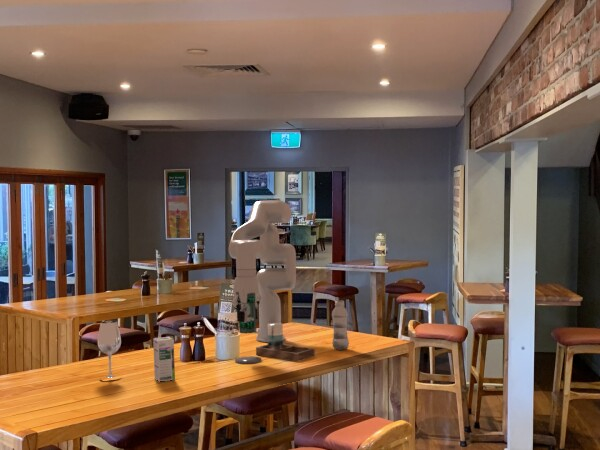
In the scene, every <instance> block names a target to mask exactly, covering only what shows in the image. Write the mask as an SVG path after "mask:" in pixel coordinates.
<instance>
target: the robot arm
mask: <svg viewBox="0 0 600 450" xmlns="http://www.w3.org/2000/svg"><path fill="white" fill-rule="evenodd" d="M291 218H292V209H291V206H290V204H288V203H287V202H285V201H283V200H278V199H277V200H276V199H274V200H273V199H272V200H268V199H267V200H259V201H258V200H257V201H255V202H254V203H253V205H252V207H251V209H250V212H249V216H248V220H247V222H246V223H244V224H242V225H241V226H239V227H238V228H236V229H235V231H234V232H233V233H232V235H231V238H230V241H229V245H228V254H229V256H230V257H231V258H232V259H234V260H235V264H236V265H235V266H236V267H235V269H236V272H235V273H236V277H234V281H233V292H232V293H233V295H234V297H233V295H232V301H231V302H230V303H231V305H232V306H233V309H235V312H236V321H237V322H238V323H239V322H244V311H243V308H244V304H246V303H247V294H251V293H255V310H256V320H257V319H258V318H259V319H258V321H259V323H258V324H259V327H258V328H256V332H255V333H254V334H257V336H256V337H255V339H256V341H257V342H261V343H268V324H270V323H282V322H281V321H282V318H281V316H282V315H281V314H282V313H281V299H280V296H279V295H278V294H277V292H276V291H289V290H290V291H291V290H293V289H295V287H296V283H297V253H296V248H295V246H294V245H293V244H291V243H280V233H279V232H280V231H279V230H278V229H277V228H276V226H275V225H274V224H287V223H289V222H290V220H291ZM258 237H259V239H255V238H258ZM258 259H259V260H260V263H261V264H262V265H264V266H284V267H283V268H277V267H274V268H271V267H270V268H268V267H267V268H262V269H260V270H259V271H257V260H258ZM240 301H241V303H240ZM237 302H238V303H237ZM240 305H241V307H240ZM258 312H259V313H258ZM285 337H286V336H284V335H283V341H284V340H285Z"/></svg>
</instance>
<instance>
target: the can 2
mask: <svg viewBox="0 0 600 450" xmlns="http://www.w3.org/2000/svg"><path fill="white" fill-rule="evenodd" d="M283 326H284V324H283V323H282V322H281V323H270V324H268V342H267V344H268V349H274V350H278V349H282V348H283V344H284V340H283V336H284V334H283V332H284V330H283Z"/></svg>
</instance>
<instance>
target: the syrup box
mask: <svg viewBox="0 0 600 450" xmlns="http://www.w3.org/2000/svg"><path fill="white" fill-rule="evenodd" d="M152 340H153V341H152V342H153V365H154V366H153V367H154V368H153V369H154V372H153V373H154V380H155V381H157V380H158V381H159V382H158V381H157V382H158V383H161V382H160V381H165V382H170V380H172V381H175V380H176V368H175V340H174V338H173V337H172V336H165V337H154V338H153V339H152Z"/></svg>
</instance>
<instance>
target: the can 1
mask: <svg viewBox="0 0 600 450" xmlns="http://www.w3.org/2000/svg"><path fill="white" fill-rule="evenodd" d="M240 303H241V301H240ZM240 307H241V305H240ZM243 311H244V322H238V326H239V327H238V329H239V330H238V331H239V333H240V334H256V333H255V332H256V329H257V322H256V321H257V319H256V310H255V293H251V294H247V303H246V304H244V308H243Z"/></svg>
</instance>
